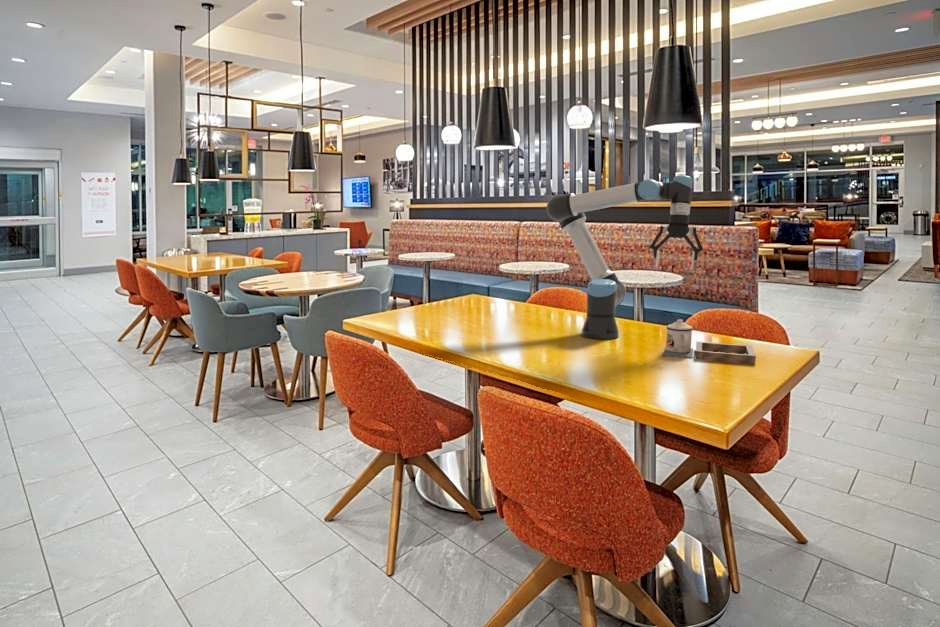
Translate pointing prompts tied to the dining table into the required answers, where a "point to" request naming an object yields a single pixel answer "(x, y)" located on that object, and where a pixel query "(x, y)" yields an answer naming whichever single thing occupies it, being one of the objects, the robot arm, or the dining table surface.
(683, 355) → the charcoal rubber mat
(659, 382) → the dining table surface
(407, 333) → the dining table surface
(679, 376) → the dining table surface
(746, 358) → the walnut board
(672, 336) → the teacup with lid
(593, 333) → the robot arm
